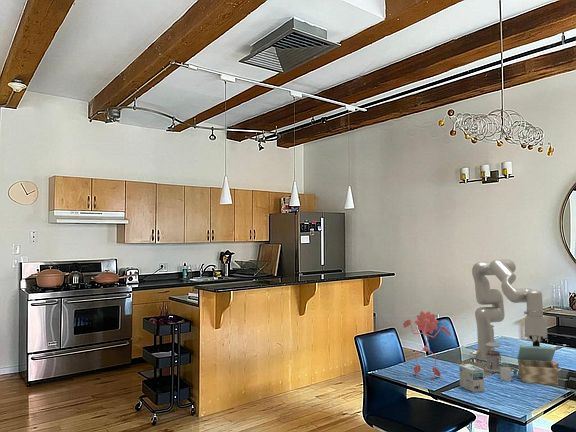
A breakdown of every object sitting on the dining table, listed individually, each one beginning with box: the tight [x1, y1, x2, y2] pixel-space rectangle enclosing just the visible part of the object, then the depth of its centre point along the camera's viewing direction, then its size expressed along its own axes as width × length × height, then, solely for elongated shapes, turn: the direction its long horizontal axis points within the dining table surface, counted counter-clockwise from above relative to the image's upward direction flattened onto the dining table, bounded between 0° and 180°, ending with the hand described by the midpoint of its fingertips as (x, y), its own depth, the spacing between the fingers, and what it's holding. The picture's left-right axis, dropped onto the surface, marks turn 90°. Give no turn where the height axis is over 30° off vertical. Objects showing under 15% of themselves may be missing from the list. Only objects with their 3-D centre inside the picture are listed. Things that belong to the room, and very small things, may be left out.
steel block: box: [499, 366, 512, 382], centre depth 241 cm, size 5×5×6 cm
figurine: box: [402, 310, 451, 380], centre depth 251 cm, size 15×26×35 cm, turn 59°
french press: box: [483, 324, 502, 373], centre depth 260 cm, size 10×12×25 cm
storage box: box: [517, 359, 559, 386], centre depth 240 cm, size 16×14×8 cm
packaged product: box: [545, 360, 563, 373], centre depth 255 cm, size 18×5×10 cm
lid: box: [517, 345, 557, 362], centre depth 242 cm, size 16×14×1 cm
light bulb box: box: [458, 363, 486, 393], centre depth 227 cm, size 11×7×11 cm, turn 17°
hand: (536, 348), depth 241 cm, fingers closed
